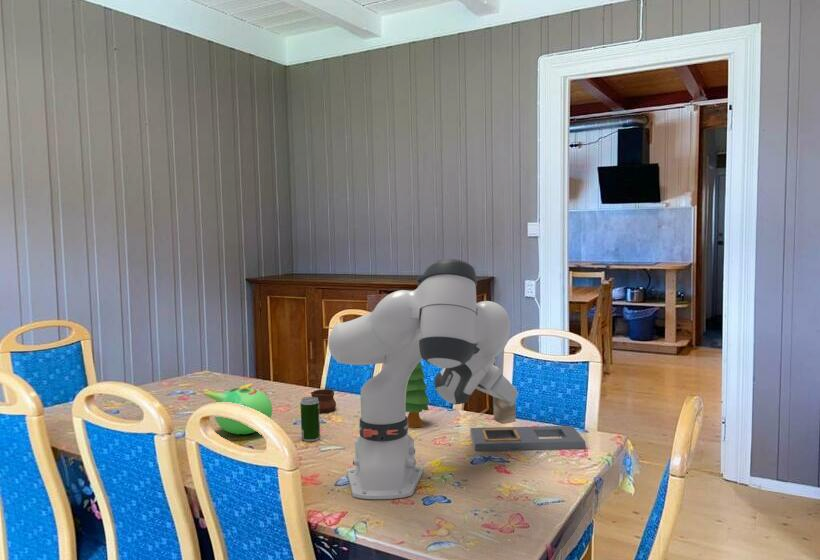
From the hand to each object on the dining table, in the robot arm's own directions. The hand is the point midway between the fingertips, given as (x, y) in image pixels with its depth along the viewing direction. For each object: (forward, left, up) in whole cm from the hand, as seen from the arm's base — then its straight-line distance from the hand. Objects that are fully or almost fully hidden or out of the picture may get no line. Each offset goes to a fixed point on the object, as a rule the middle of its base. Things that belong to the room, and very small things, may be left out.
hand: (506, 401), depth 177 cm
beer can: (+6, +57, -12) cm, 58 cm away
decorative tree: (+18, +26, -12) cm, 33 cm away
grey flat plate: (0, -5, -12) cm, 13 cm away
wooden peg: (0, +1, -6) cm, 6 cm away
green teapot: (+13, +79, -12) cm, 81 cm away
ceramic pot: (+36, +57, -12) cm, 69 cm away
